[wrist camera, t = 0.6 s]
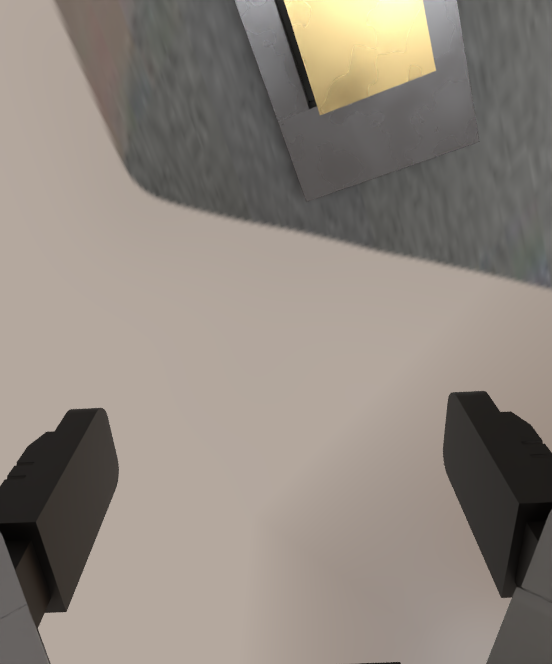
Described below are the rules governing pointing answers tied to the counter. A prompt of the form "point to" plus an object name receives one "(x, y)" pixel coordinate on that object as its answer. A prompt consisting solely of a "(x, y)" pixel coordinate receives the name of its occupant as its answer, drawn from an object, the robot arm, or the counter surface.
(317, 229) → the counter surface
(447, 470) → the robot arm
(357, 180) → the grey slotted holder
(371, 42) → the yellow wooden block
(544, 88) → the counter surface
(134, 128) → the counter surface
